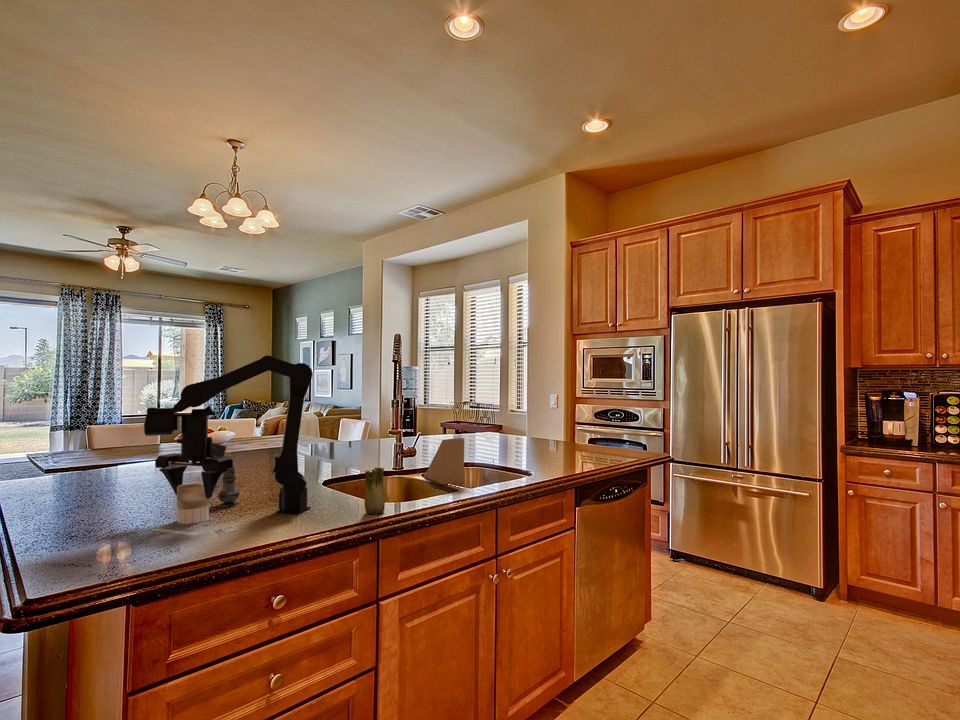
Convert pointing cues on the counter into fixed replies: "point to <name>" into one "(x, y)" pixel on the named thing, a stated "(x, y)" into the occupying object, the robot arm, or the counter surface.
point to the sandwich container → (448, 462)
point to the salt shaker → (228, 489)
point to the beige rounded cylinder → (191, 496)
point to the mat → (175, 531)
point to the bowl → (192, 515)
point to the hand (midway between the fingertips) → (193, 496)
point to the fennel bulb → (374, 491)
